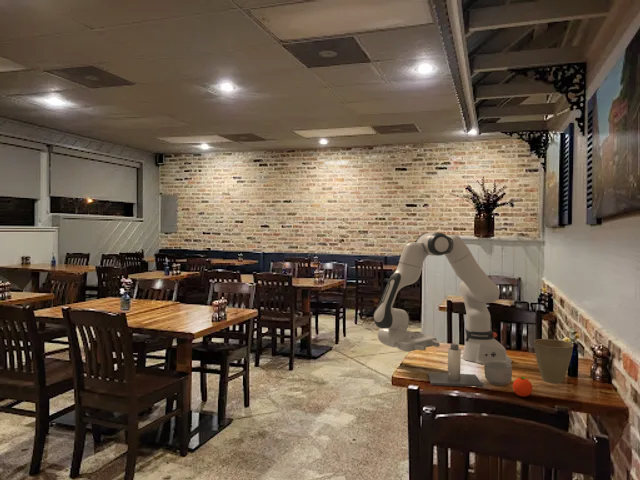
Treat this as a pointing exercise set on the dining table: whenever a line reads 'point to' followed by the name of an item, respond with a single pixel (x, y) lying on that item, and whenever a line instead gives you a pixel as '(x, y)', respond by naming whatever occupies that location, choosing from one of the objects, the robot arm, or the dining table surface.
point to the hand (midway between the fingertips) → (431, 346)
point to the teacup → (498, 372)
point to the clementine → (522, 387)
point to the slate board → (464, 380)
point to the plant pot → (553, 358)
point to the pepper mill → (454, 362)
